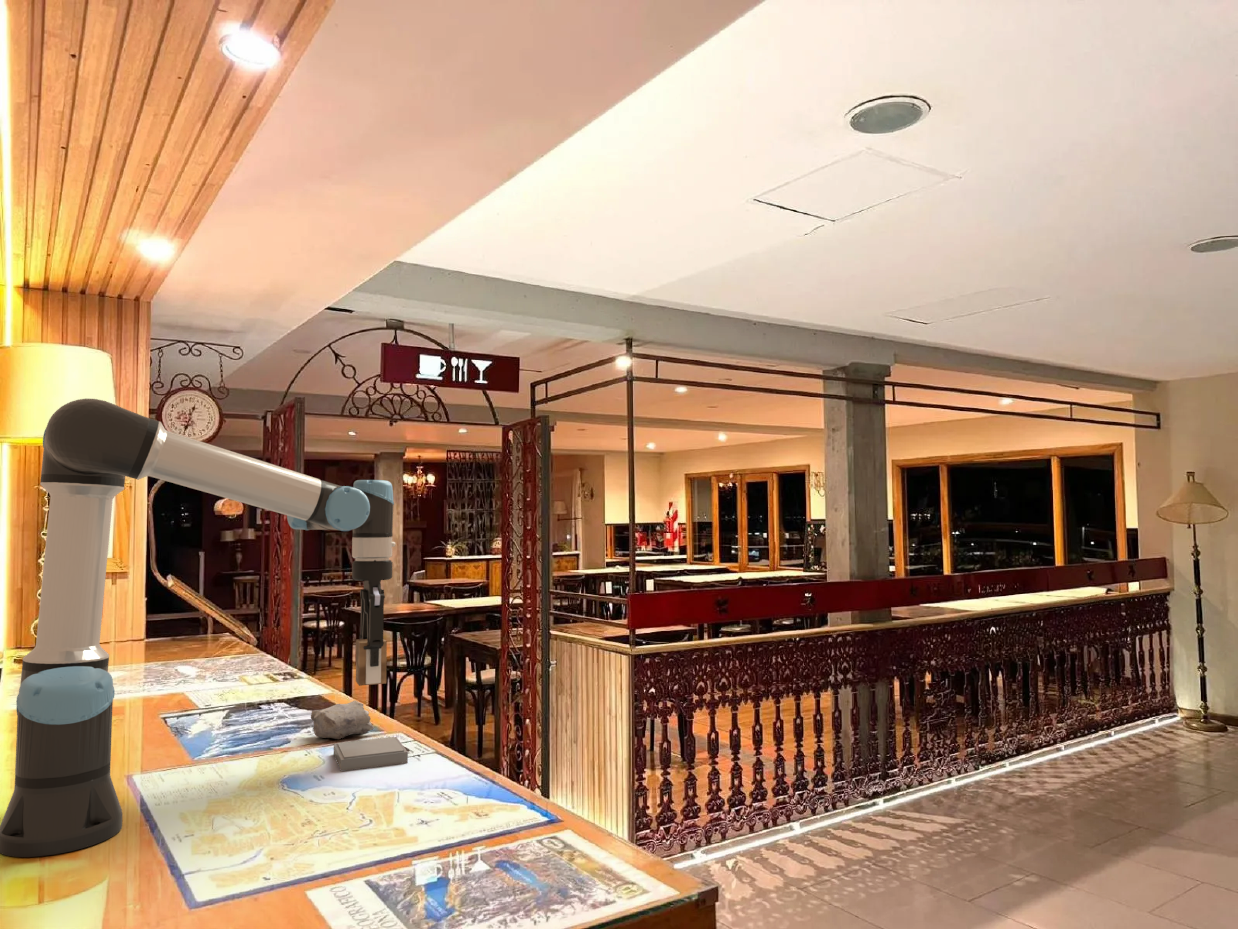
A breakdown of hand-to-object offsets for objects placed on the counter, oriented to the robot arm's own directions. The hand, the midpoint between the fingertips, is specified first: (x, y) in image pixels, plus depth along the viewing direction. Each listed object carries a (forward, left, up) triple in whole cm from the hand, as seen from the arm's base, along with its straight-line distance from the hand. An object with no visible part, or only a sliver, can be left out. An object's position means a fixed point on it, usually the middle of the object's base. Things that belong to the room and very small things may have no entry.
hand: (370, 680), depth 162 cm
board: (0, 0, -15) cm, 15 cm away
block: (0, 0, 0) cm, 0 cm away
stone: (+19, +3, -15) cm, 25 cm away
